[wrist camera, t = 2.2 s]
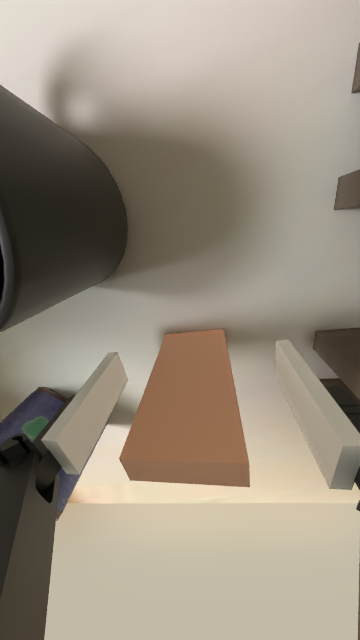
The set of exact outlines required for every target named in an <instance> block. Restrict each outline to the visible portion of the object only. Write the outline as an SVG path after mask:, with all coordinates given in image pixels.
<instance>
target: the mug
mask: <svg viewBox="0 0 360 640" xmlns="http://www.w3.org/2000/svg"><path fill="white" fill-rule="evenodd" d="M126 240H127V218H126V212H125V207H124V203H123V200H122V197H121V194H120V191H119V189H118V187H117V185H116V183H115V181H114V179H113V177H112V175H111V174H110V172H109V170H108V169H107V167H106V166H105V165H104V163H103V162H102V161H101V160H100V158H99V157H98V156H97V155H96V154H95V153H94V152H93V151H92V150H91V149H90V148H89V147H88V146H86V145H85V144H84V143H82V142H81V141H79V140H78V139H77V138H75V137H74V136H72V135H71V134H70V133H68V132H67V131H65V130H64V129H62V128H61V127H60V126H58V125H57V124H55V123H54V122H52V121H51V120H50V119H48V118H47V117H45V116H44V115H43V114H41V113H40V112H38V111H37V110H35V109H34V108H33V107H31V106H30V105H28V104H27V103H25V102H24V101H23V100H21V99H20V98H18V97H17V96H15V95H14V94H13V93H11V92H10V91H8V90H7V89H6V88H4V87H3V86H1V85H0V332H2V331H4V330H6V329H8V328H10V327H12V326H14V325H16V324H18V323H20V322H22V321H24V320H26V319H28V318H30V317H32V316H34V315H36V314H38V313H40V312H41V311H43V310H45V309H47V308H49V307H51V306H53V305H55V304H57V303H59V302H61V301H63V300H65V299H67V298H69V297H71V296H73V295H75V294H77V293H79V292H81V291H83V290H85V289H87V288H89V287H91V286H93V285H95V284H97V283H99V282H101V281H102V280H104V279H105V278H107V277H108V276H109V275H110V274H111V273H112V272H113V271H114V270H115V269H116V267H117V266H118V264H119V263H120V261H121V258H122V256H123V253H124V250H125V246H126Z"/></svg>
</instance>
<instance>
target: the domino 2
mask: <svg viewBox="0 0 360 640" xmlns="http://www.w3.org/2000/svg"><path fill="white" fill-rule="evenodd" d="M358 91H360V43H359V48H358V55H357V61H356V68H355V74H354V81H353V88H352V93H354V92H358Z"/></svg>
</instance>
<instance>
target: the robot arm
mask: <svg viewBox="0 0 360 640" xmlns="http://www.w3.org/2000/svg"><path fill="white" fill-rule="evenodd" d="M274 374H275V376H276V378H277V380H278V382H279V384H280V386H281V388H282V390H283V393H284V395H285V397H286V399H287V401H288V403H289V405H290V407H291V409H292V411H293V413H294V416H295V418H296V420H297V422H298V424H299V426H300V428H301V430H302V432H303V434H304V436H305V439H306V441H307V443H308V445H309V447H310V449H311V451H312V453H313V455H314V457H315V459H316V462H317V464H318V466H319V468H320V470H321V472H322V474H323V476H324V478H325V480H326V482H327V485H328V487H329V489H347V490H352V487H353V485H354V482H355V483H356V484H357V486H358V488H359V490H360V407H359V405H358V404H357V402H356V401H355V400H354V399H353V398H352V397H351V395H349V394H348V393H347V392H345V391H344V390H342V389H341V388H339V387H324V386H323V384H322V383H321V382H320V380H319V379H318V378H317V376H316V375H315V374H314V372H313V371H312V370H311V368H310V367H309V366H308V364H307V363H306V362H305V360H304V359H303V358H302V356H301V355H300V354H299V352H298V351H297V350H296V349H295V347H294V346H293V345H292V343H291V342H290V341H289V339H287V340H276V348H275V368H274ZM127 381H128V378H127V376H126V373H125V370H124V368H123V365H122V362H121V360H120V357H119V354H118V352H116V353H108V354H107V356H106V357H105V358H104V360H103V361H102V362H101V363H100V365H99V366H98V367H97V369H96V370H95V371H94V372H93V374H92V375H91V376H90V378H89V379H88V380H87V381H86V383H85V384H84V385H83V387H82V388H81V389H80V390H79V392H78V393H77V394H76V395H74V396H72V397H70V398H69V399H68V400H67V401H66V402H64V404H63V405H62V406H61V407H60V409H59V410H58V412H56V414H55V415H54V416H53V418H51V420H50V421H49V422H48V423H47V425H46V426H45V427H44V428H43V430H42V431H41V432H40V433H39V435H38V436H37V437H36V438H35V439H34V441H33V442H31V440H30V439H29V438H28V437H27V435H25V434H24V433H19V434H16V435H13V436H12V437H10V438H8V439H6V440H5V441H4V442H3V443H1V444H0V640H44V635H45V634H44V633H45V624H46V614H47V604H48V594H49V584H50V573H51V563H52V553H53V543H54V532H55V522H56V512H57V502H58V492H59V482H60V479H59V475H58V472H59V471H60V469H61V467H62V468H63V470H64V471H65V472H66V474H79V475H80V473H81V471H82V469H83V467H84V465H85V463H86V461H87V459H88V457H89V455H90V453H91V451H92V449H93V447H94V446H95V444H96V442H97V440H98V438H99V436H100V434H101V432H102V430H103V428H104V426H105V424H106V422H107V420H108V418H109V416H110V414H111V412H112V410H113V408H114V406H115V404H116V402H117V400H118V399H119V397H120V395H121V393H122V391H123V389H124V387H125V385H126V383H127ZM357 510H359V511H360V501H359V503H358V506H357ZM359 566H360V564H359ZM358 640H360V567H359V612H358Z"/></svg>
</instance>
